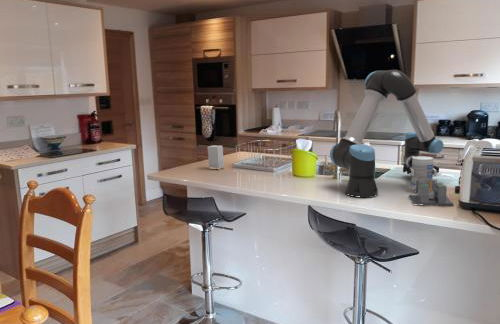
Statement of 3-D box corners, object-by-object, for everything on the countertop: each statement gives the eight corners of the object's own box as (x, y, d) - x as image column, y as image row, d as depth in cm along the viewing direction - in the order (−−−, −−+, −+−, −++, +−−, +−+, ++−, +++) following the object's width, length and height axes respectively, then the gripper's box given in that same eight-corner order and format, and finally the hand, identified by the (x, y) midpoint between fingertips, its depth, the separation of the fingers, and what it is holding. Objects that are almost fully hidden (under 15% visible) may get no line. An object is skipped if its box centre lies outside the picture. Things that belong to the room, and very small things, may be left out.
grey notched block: (408, 197, 186) (409, 179, 185) (445, 198, 183) (446, 180, 182) (413, 205, 175) (414, 186, 173) (453, 206, 172) (454, 186, 170)
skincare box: (224, 168, 267) (223, 145, 264) (218, 170, 261) (217, 146, 258) (214, 167, 271) (213, 144, 268) (208, 169, 266) (207, 146, 263)
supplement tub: (431, 190, 190) (432, 160, 187) (409, 188, 194) (410, 158, 191) (433, 185, 198) (434, 156, 195) (412, 184, 202) (413, 155, 200)
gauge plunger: (415, 192, 188) (416, 176, 187) (435, 193, 187) (436, 176, 185) (419, 198, 179) (420, 181, 177) (441, 199, 177) (442, 181, 175)
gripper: (437, 171, 210) (448, 181, 189) (392, 170, 215) (399, 180, 193) (437, 157, 209) (449, 165, 187) (393, 156, 213) (400, 165, 192)
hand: (424, 173), depth 190 cm, fingers closed on supplement tub, 9 cm apart
